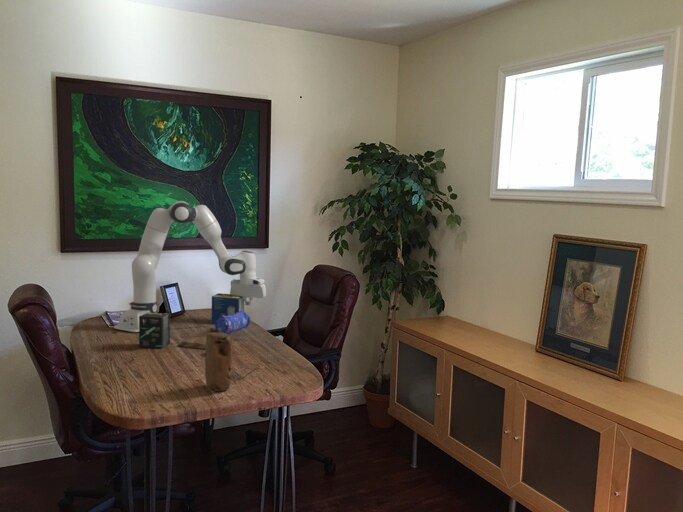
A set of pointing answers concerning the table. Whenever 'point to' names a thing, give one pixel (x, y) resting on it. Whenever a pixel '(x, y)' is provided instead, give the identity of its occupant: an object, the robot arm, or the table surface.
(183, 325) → the table surface
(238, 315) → the pencil case
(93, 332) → the table surface
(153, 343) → the tampon box
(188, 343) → the frame
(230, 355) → the block
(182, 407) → the table surface
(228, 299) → the protein box
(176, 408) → the table surface
